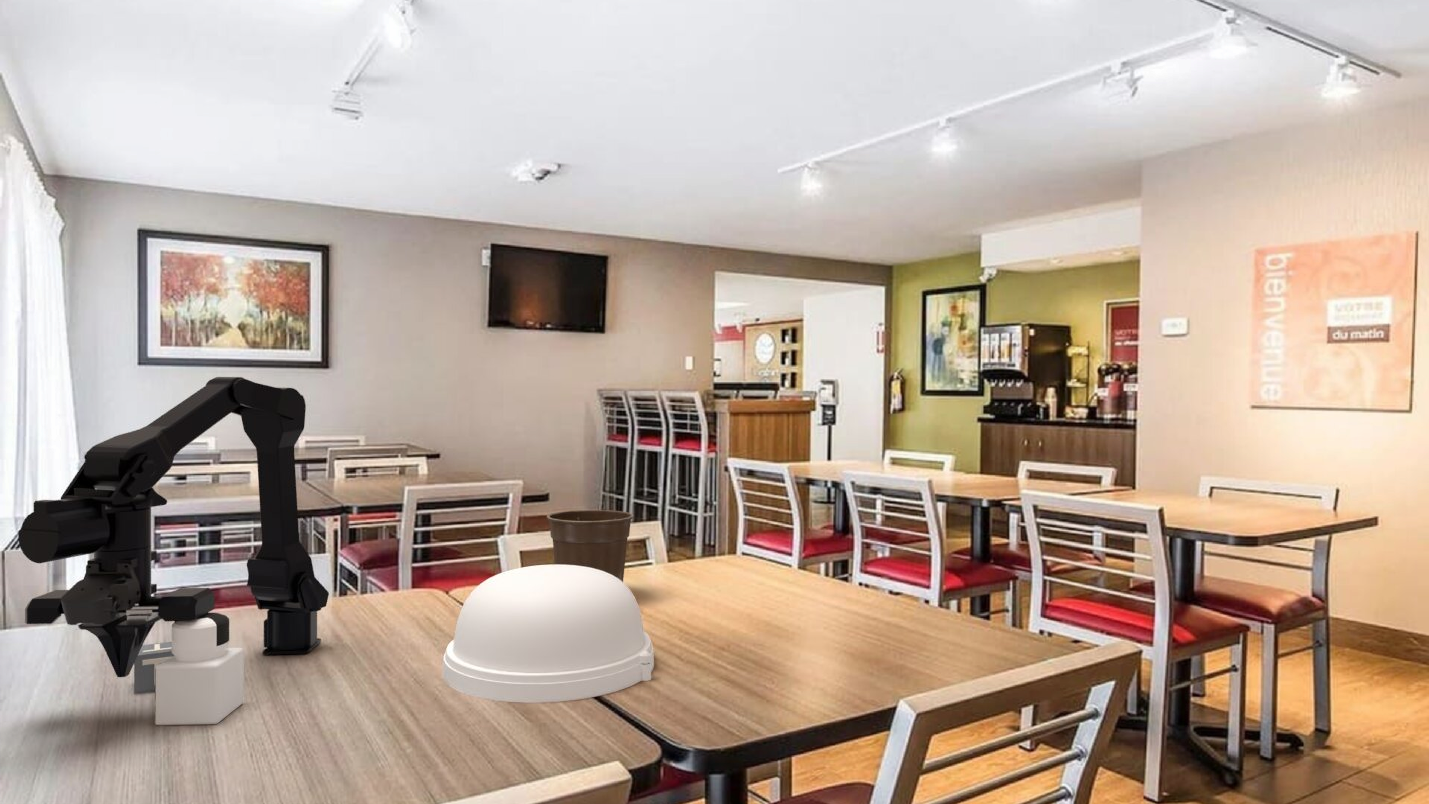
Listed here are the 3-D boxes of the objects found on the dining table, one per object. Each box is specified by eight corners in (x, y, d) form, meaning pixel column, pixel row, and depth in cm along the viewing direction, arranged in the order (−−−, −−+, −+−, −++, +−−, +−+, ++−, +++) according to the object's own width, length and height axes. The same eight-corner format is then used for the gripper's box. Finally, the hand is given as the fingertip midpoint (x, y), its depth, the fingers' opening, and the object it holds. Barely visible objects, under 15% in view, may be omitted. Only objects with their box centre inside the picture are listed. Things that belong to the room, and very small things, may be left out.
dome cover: (692, 651, 135) (693, 560, 134) (598, 719, 107) (599, 604, 106) (515, 628, 146) (515, 545, 146) (389, 685, 118) (389, 581, 118)
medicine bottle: (185, 704, 110) (185, 609, 109) (244, 703, 110) (244, 608, 110) (153, 726, 102) (153, 624, 102) (217, 725, 103) (217, 623, 103)
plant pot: (561, 587, 175) (562, 507, 175) (640, 591, 173) (641, 509, 172) (534, 608, 159) (534, 519, 158) (620, 612, 157) (621, 522, 156)
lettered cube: (135, 683, 117) (135, 645, 117) (178, 676, 120) (178, 639, 120) (134, 695, 113) (134, 655, 113) (179, 688, 116) (179, 649, 115)
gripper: (-9, 561, 96) (-9, 702, 96) (171, 559, 98) (171, 697, 98) (55, 543, 107) (55, 670, 107) (216, 541, 109) (216, 666, 109)
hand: (123, 676), depth 105 cm, fingers closed
